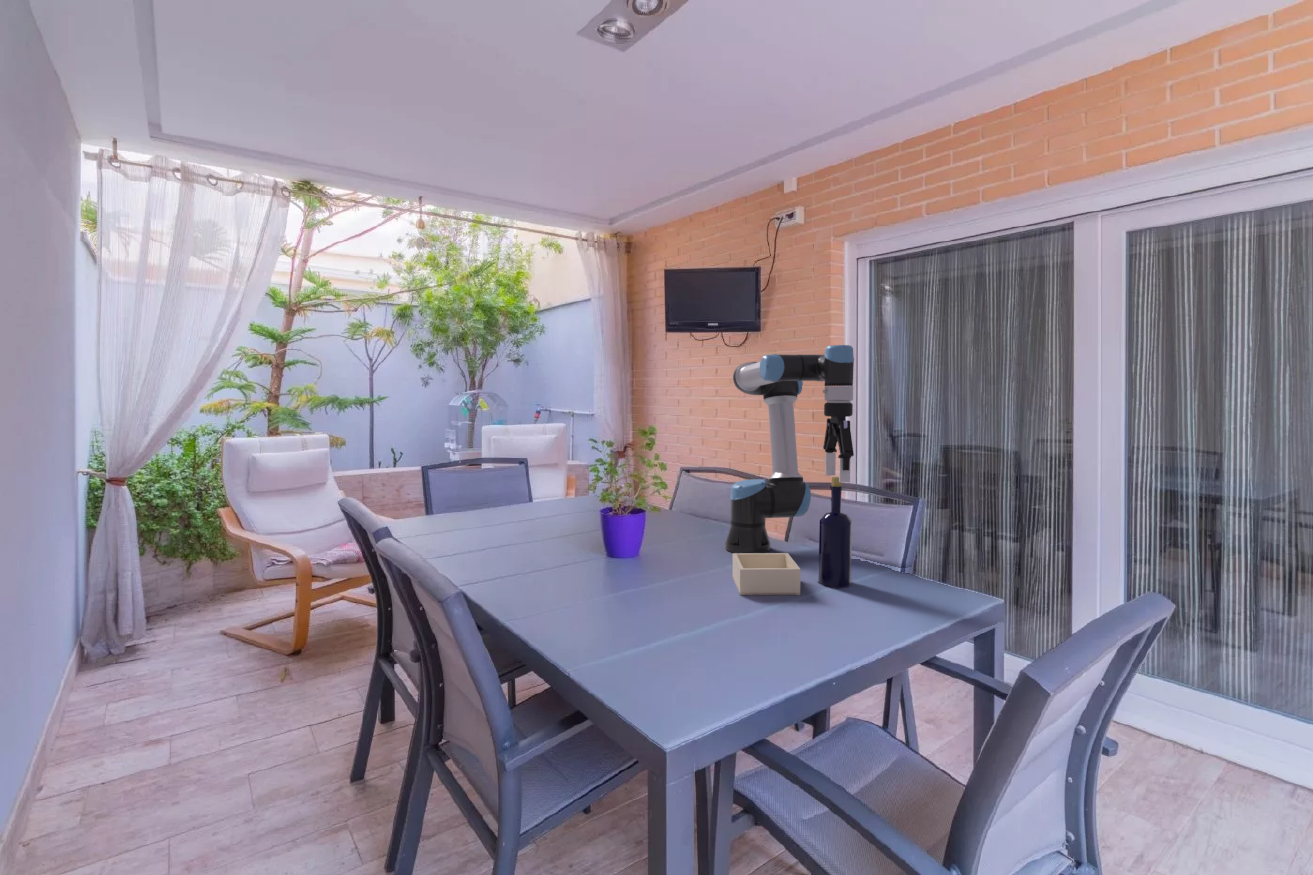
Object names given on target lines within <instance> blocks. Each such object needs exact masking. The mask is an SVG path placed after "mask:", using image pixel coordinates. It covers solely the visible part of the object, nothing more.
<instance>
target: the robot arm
mask: <svg viewBox="0 0 1313 875" xmlns="http://www.w3.org/2000/svg"><path fill="white" fill-rule="evenodd" d="M854 361H855V357H854V348H853V345H849V344H833V345H827V346H826V347H825V350H824V354H778V353H771V354H765V355H763V356H762V357H761V359H760V361H749V362H745V363H741V364H740V365H738V366H737V367H736V368H735V370H734V372H733V375H732V380H733V384H734V386H735V387H736V389H737V390H739V391H740V392H742V393H744V394H747V395H751V396H763V402H764V403H765V404H766V405H767V406H768V418H769V420H768V422H769V436H770V437H769V438H770V452H771V468H772V474H771V475H770V477H768V483H767V481H766V480H765V479H760V478H755V479H753V478H752V479H751V478H750V479H745V480H740V481H737V482H734V483H733V484H732V486H731V488H730V496H729V497H730V498H729V499H730V527H729V530H728V534H727V536H726V540H725V543H724V544H725V547H724V548H725V550H726V551H728V552H729V553H730V552H731V553H732V554H733V553H770V551H771V541H770V538H769V535H768V532H767V528H766V520H767V519H778V518H779V519H781V518H783V519H785V518H792V519H793V518H799V517H803V516H805V515H806V514H807V512H808V511H809V507H810V504H811V500H812V493H811V492H812V491H811V488H810V485H809V483H807V482H805V481H804V476H803V475H802V474H800V473H799V467H798V465H799V464H798V454H797V437H796V435H797V434H796V422H795V412H794V411H795V409H794V408H795V407H794V403H795V402H796V401H797V400H798V395H800V394H802V391H803V384H804V382H806V381H807V382H824V389H823V390H822V394H824V401H825V403H824V404H823V405H824V406H823V414H824V417H830V418H826V427H825V428H826V429H825V436H824V441H823V446H822V447H823V448H822V449H823V450H824V451H825V452H824V453H825V464H824V465H825V467H824V468H825V469H824V470H825V476H836V464H837V463H836V462H837V461H836V459H837V458H838V459H839V465H838V468H839V469H838V471H839V472H838V477H839V482H840V483H841V482H842V483H851V459H852V457H854V448H853V439H852V432H851V420H846V418H847V417H852V416H853V412H854V409H853V407H854V406H853V405H854V404H853V402H852V401H853V400H854V367H855V366H854ZM837 444H838V449H839V453H840V454H839V455H838V457H837V456H836V454H837V451H838V450H837V448H836V447H837Z"/></svg>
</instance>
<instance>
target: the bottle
mask: <svg viewBox="0 0 1313 875" xmlns="http://www.w3.org/2000/svg"><path fill="white" fill-rule="evenodd" d="M830 477H831V483H830V484H831V485H830V491H831V492H830V494H831V496H830V502H831V505H830V506H831V509H830V511H828V512H826V513H825V514H824V515H823V516H822V517H821V519H819V532H818V533H819V538H818V539H819V543H818V546H819V547H818V578H817V579H818V582H817V583H818V584H820V585H821V586H823V587H827V588H833V589H843V588H849V587H850V586H851V585H852V544H853V543H852V542H853V541H852V538H853V537H852V536H853V521H852V519H851V517H849V515H848V514H847V513H844V512H842V490H843V488H844V487H843V482H841V483H840V482H839V476H830Z"/></svg>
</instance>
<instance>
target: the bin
mask: <svg viewBox="0 0 1313 875" xmlns="http://www.w3.org/2000/svg"><path fill="white" fill-rule="evenodd" d="M801 572H802V571H801V568H800V567H799V565H798V564H797V563H796V561H795V560H794V559H793V558H792V557H791V555H790V554H789V553H788V552H780V553H779V552H778V553H777V552H775V553H774V552H771V553H770V552H767V553H733V552H732V579H733V582H734V584H735V587H736V589H737V591H738V594H739V596H801V574H802V573H801Z"/></svg>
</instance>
